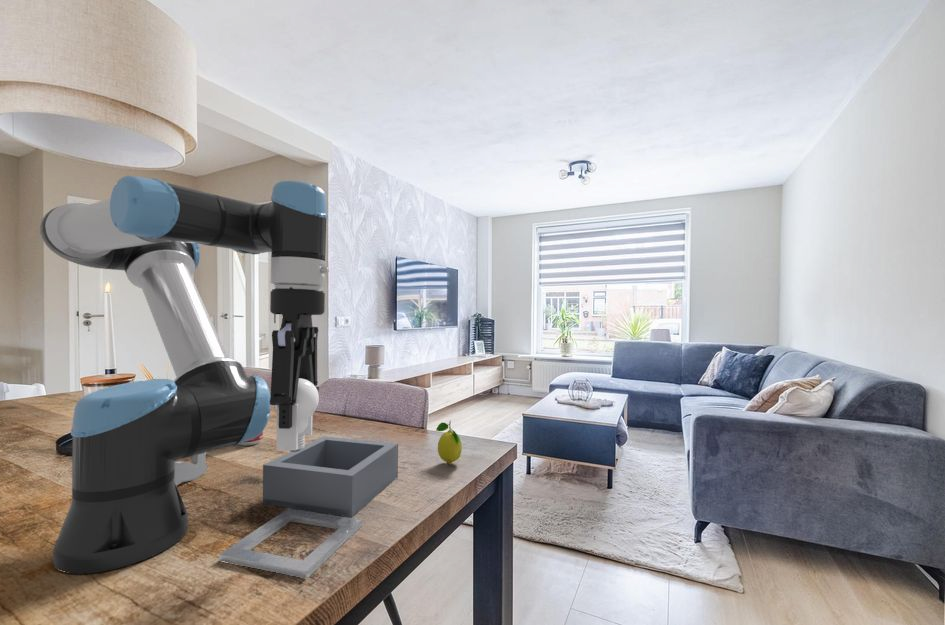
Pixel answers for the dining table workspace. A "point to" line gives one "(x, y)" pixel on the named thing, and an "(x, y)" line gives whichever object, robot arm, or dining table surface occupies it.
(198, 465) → the light grey hook
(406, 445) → the dining table surface
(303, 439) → the lightbulb
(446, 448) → the lemon
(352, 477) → the bin
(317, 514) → the grey square frame
